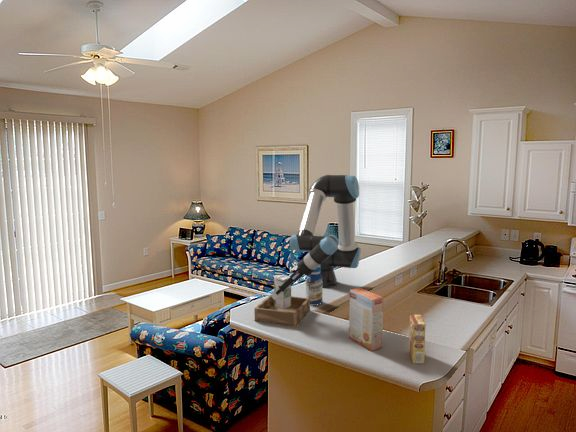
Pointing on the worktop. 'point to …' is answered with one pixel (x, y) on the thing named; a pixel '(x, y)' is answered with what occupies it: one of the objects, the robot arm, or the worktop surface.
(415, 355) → the candy box
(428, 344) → the worktop surface
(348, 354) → the worktop surface
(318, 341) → the worktop surface
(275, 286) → the syrup box
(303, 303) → the crate
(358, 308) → the cracker box
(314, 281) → the beverage bottle
